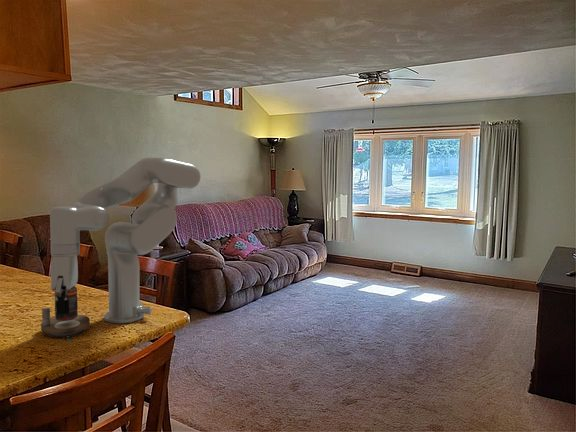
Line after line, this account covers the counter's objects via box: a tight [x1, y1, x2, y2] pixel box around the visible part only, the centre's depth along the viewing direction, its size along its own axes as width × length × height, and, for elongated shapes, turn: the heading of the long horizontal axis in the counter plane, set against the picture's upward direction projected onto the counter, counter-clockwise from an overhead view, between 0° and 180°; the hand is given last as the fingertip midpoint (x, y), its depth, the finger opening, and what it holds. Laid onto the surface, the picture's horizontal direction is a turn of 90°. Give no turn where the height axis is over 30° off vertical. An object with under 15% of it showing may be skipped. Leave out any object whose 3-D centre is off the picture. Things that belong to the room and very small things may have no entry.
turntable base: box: [46, 329, 85, 343], centre depth 131 cm, size 10×13×1 cm
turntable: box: [40, 307, 91, 334], centre depth 132 cm, size 13×13×6 cm
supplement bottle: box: [54, 285, 79, 321], centre depth 129 cm, size 6×6×11 cm
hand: (66, 309), depth 129 cm, fingers closed on supplement bottle, 6 cm apart
